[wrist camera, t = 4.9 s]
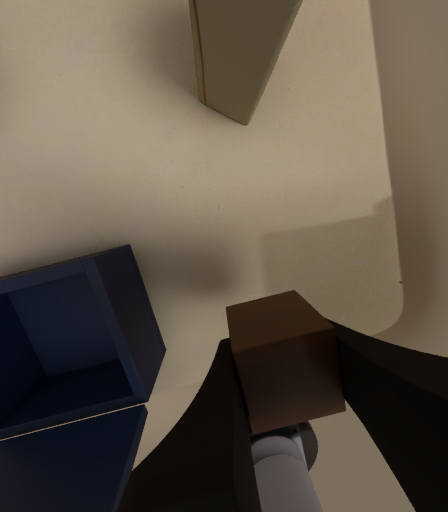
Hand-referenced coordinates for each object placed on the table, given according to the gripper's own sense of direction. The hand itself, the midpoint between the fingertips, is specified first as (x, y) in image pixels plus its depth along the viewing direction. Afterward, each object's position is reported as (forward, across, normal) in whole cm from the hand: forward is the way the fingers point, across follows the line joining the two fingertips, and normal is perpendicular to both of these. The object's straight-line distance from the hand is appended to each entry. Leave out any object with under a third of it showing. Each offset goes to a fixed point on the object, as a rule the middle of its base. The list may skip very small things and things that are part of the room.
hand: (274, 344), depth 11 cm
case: (+9, +15, -1) cm, 17 cm away
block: (+1, 0, 0) cm, 1 cm away
